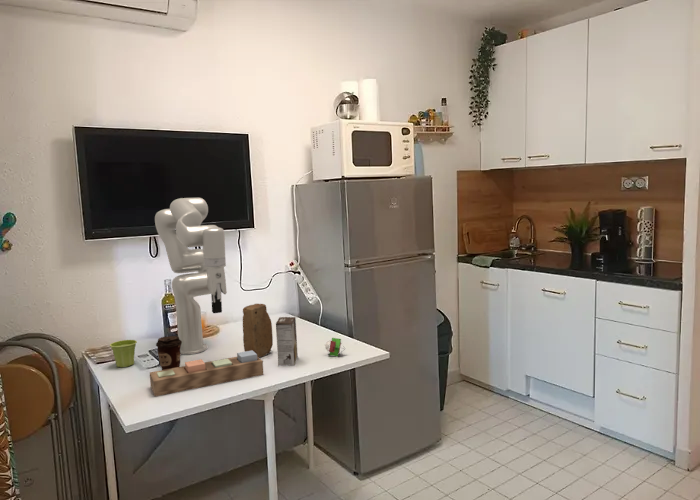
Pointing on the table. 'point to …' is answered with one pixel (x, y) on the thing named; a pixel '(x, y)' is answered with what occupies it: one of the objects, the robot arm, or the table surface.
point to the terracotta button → (194, 366)
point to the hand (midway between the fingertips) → (217, 312)
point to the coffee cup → (169, 352)
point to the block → (257, 329)
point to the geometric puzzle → (334, 346)
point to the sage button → (221, 363)
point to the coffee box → (286, 341)
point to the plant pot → (124, 352)
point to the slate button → (246, 356)
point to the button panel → (202, 376)
